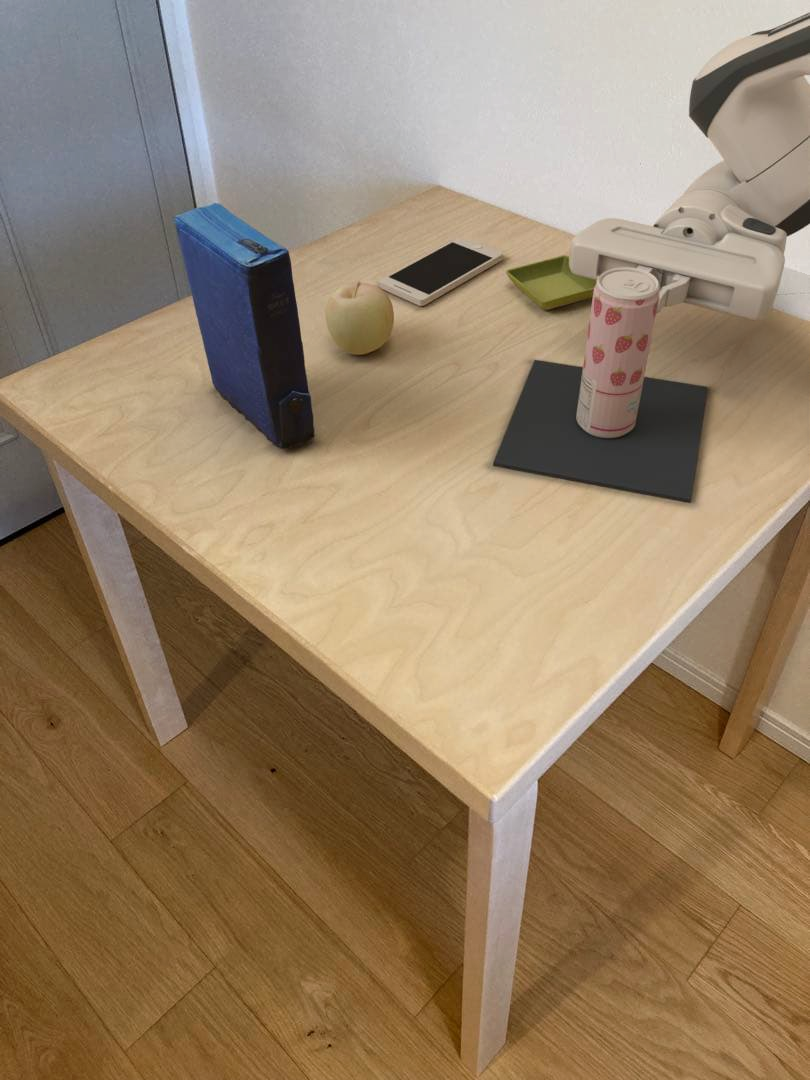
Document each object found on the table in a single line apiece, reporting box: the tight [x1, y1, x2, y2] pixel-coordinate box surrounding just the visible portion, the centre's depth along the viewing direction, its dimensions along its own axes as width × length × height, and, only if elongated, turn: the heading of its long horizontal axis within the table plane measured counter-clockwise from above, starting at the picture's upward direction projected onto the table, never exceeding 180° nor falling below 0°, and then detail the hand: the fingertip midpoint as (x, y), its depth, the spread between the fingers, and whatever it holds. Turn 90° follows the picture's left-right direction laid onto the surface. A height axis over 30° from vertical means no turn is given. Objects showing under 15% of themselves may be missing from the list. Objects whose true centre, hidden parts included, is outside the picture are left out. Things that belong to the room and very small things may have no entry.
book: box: [173, 202, 316, 450], centre depth 83 cm, size 14×5×20 cm, turn 37°
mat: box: [492, 359, 709, 503], centre depth 87 cm, size 18×18×1 cm
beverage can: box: [576, 267, 660, 438], centre depth 82 cm, size 6×6×15 cm
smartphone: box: [378, 236, 504, 307], centre depth 110 cm, size 7×16×1 cm, turn 137°
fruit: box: [324, 281, 395, 356], centre depth 96 cm, size 8×7×8 cm
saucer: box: [505, 254, 597, 311], centre depth 105 cm, size 9×9×2 cm
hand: (644, 302), depth 83 cm, fingers closed
